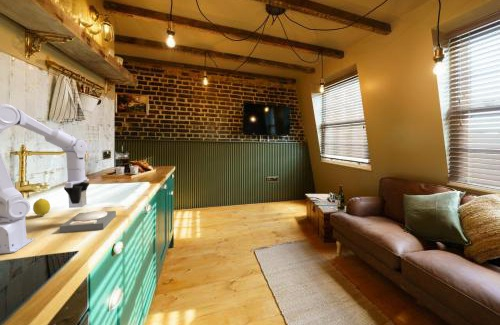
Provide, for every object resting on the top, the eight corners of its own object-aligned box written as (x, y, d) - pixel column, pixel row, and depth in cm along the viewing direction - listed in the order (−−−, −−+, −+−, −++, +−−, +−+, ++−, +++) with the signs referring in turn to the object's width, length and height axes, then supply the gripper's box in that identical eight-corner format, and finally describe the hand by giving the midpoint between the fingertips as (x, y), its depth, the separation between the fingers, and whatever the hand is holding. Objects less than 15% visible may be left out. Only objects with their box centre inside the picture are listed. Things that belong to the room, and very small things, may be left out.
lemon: (40, 218, 98) (39, 200, 97) (30, 217, 99) (28, 199, 98) (53, 214, 104) (52, 197, 103) (44, 213, 105) (42, 196, 104)
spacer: (82, 207, 92) (81, 192, 92) (69, 207, 91) (68, 193, 91) (86, 204, 96) (85, 190, 96) (74, 204, 95) (73, 190, 95)
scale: (103, 229, 87) (103, 221, 87) (60, 232, 84) (59, 224, 83) (116, 216, 103) (115, 209, 103) (79, 218, 99) (79, 211, 99)
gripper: (79, 170, 86) (81, 206, 88) (94, 166, 100) (96, 197, 102) (57, 171, 85) (60, 207, 86) (75, 167, 99) (77, 197, 100)
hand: (78, 201), depth 94 cm, fingers closed on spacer, 4 cm apart
